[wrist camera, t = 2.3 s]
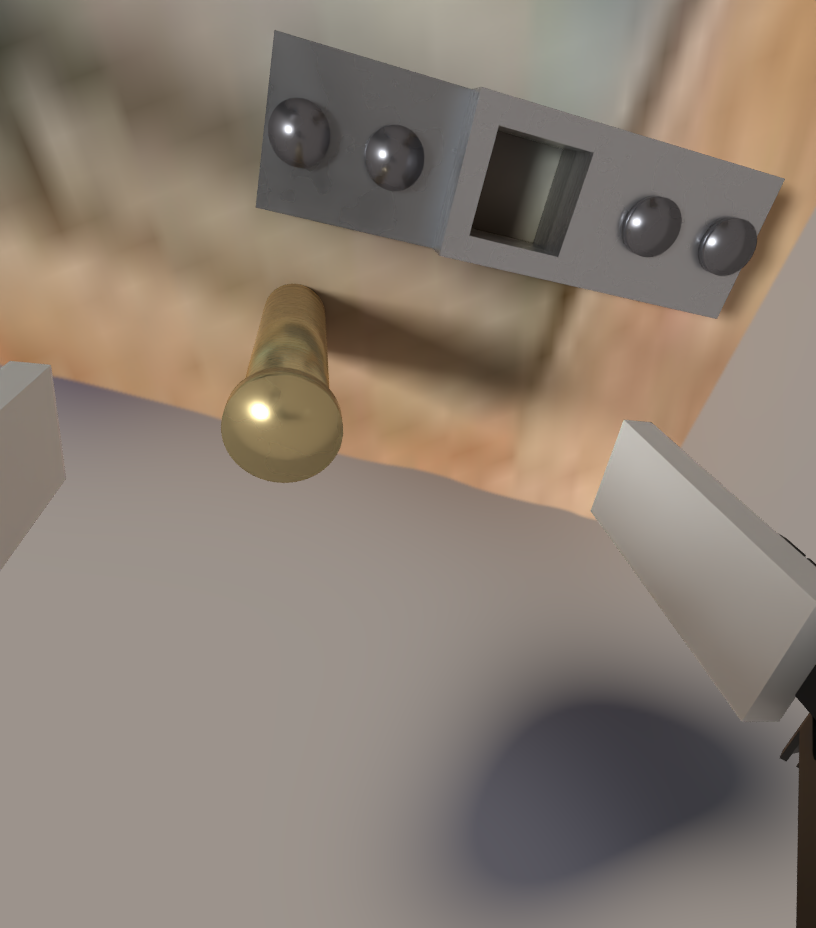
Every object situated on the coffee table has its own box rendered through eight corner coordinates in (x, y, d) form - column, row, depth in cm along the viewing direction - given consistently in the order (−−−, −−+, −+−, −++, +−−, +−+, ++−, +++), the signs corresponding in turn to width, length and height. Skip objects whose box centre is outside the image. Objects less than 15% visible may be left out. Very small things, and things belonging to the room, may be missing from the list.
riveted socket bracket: (259, 202, 30) (250, 214, 26) (276, 35, 27) (270, 21, 23) (678, 300, 36) (723, 322, 32) (735, 173, 33) (793, 179, 29)
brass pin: (253, 342, 34) (216, 474, 21) (261, 269, 32) (226, 366, 19) (325, 355, 35) (332, 489, 22) (338, 285, 33) (353, 386, 20)
